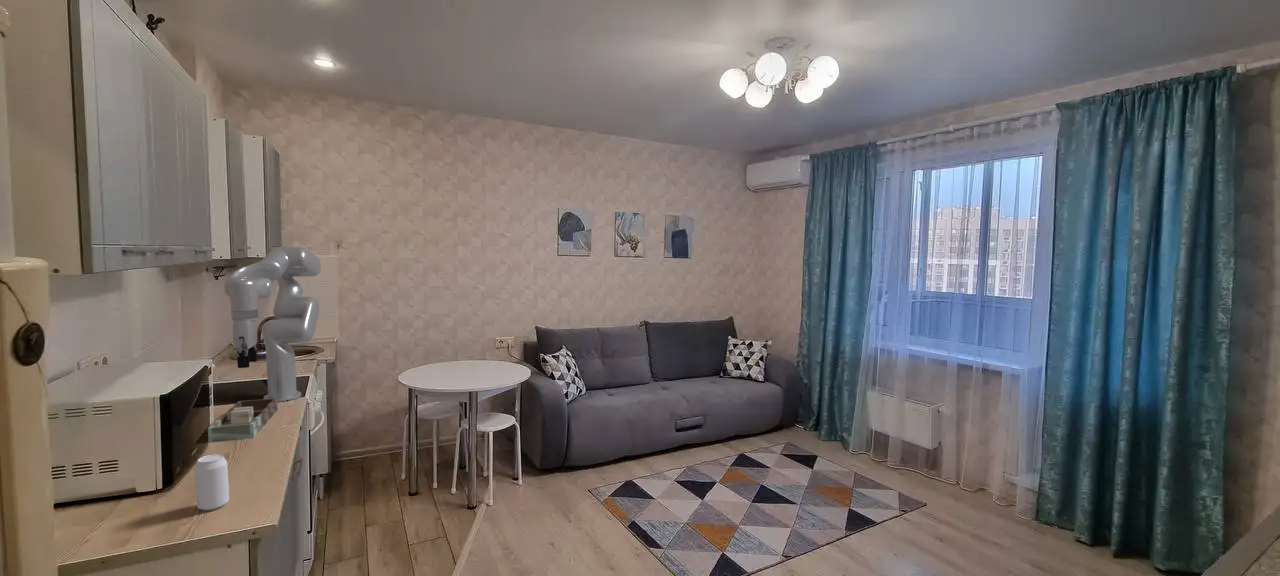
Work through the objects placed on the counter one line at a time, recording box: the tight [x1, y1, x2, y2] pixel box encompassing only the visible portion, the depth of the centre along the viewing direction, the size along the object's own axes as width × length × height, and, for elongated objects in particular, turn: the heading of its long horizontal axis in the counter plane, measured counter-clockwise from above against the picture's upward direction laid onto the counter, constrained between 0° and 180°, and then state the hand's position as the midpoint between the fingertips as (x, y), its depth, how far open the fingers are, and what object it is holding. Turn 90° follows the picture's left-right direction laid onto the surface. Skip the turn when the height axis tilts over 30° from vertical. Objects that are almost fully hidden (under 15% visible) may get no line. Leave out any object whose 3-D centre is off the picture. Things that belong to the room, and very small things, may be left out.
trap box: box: [207, 398, 279, 443], centre depth 187 cm, size 30×12×4 cm, turn 21°
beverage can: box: [193, 453, 230, 511], centre depth 131 cm, size 6×6×12 cm
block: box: [231, 406, 254, 424], centre depth 184 cm, size 5×5×4 cm
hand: (247, 364), depth 190 cm, fingers open, 8 cm apart
